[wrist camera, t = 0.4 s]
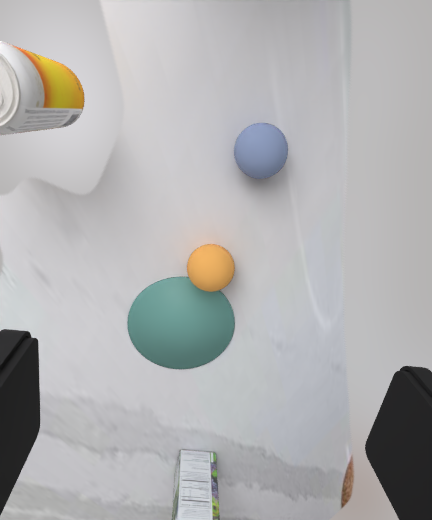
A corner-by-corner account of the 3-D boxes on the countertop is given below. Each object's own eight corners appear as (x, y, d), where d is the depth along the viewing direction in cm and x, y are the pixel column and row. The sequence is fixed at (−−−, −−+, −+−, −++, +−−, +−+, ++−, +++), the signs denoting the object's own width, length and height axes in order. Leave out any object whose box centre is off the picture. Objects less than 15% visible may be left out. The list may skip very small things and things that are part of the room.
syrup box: (209, 476, 59) (214, 583, 46) (173, 473, 58) (168, 581, 45) (216, 451, 57) (224, 555, 44) (178, 448, 56) (175, 553, 43)
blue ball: (223, 134, 39) (228, 138, 34) (271, 113, 39) (283, 113, 34) (242, 181, 41) (249, 191, 36) (287, 162, 41) (301, 169, 36)
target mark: (107, 302, 46) (107, 303, 46) (209, 260, 45) (209, 260, 45) (157, 381, 51) (157, 382, 51) (249, 345, 50) (249, 346, 50)
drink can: (47, 46, 35) (-45, 5, 21) (98, 95, 37) (44, 85, 23) (11, 95, 37) (-97, 86, 23) (63, 139, 38) (-9, 156, 25)
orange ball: (179, 248, 44) (178, 266, 39) (221, 230, 43) (225, 246, 38) (198, 285, 46) (199, 307, 41) (238, 269, 45) (244, 288, 40)
